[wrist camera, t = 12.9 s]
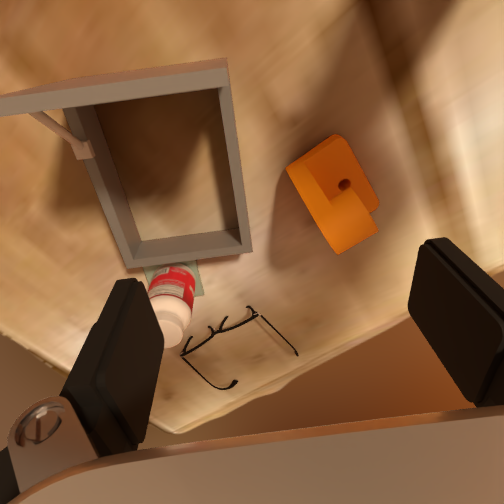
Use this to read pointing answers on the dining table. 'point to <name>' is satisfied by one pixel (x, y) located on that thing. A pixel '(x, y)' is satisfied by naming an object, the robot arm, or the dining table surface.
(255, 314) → the eyeglasses
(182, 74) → the case
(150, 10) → the dining table surface
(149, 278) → the mat
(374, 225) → the bracket
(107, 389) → the robot arm
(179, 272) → the pill bottle
